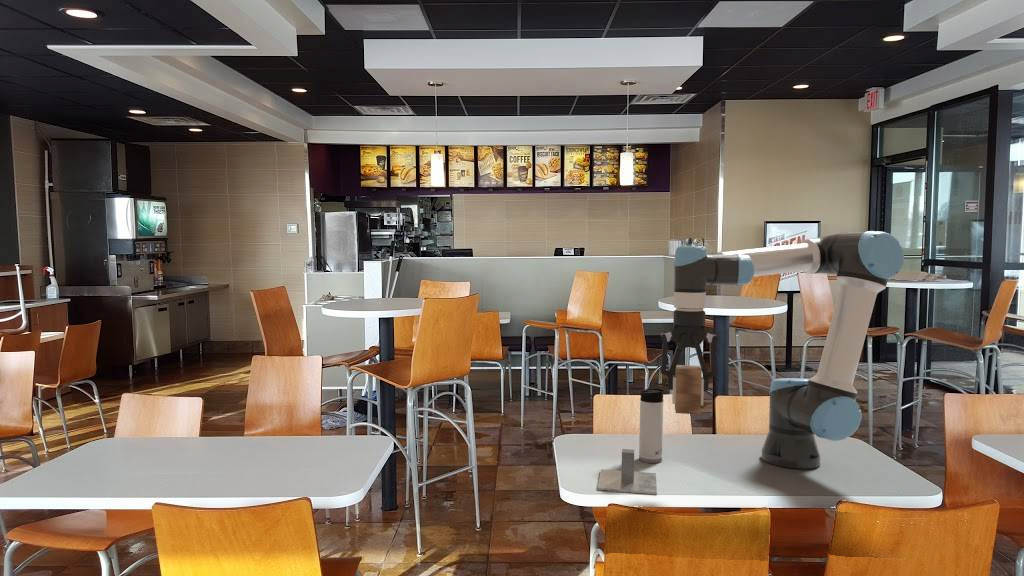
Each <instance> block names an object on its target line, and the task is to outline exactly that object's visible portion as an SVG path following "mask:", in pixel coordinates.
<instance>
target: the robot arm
mask: <svg viewBox="0 0 1024 576" xmlns="http://www.w3.org/2000/svg"><path fill="white" fill-rule="evenodd" d="M673 261H674V263H673V266H674V271H673V272H674V275H673V276H674V280H673V281H674V282H673V283H674V284H673V285H674V289H673V291H674V292H673V308H675V310H673V319H672V320H673V326H672V329H671V330H670V331H669V332H666V333H665V332H661V333H660V338H661V342H662V348H661V361H660V374H662V375H665V376H667V388H668V391H669V390H670V391H671V393H672V395H671V400H672V401H671V402H672V403H671V404H672V405H675V404H676V376H675V375H674V374H675V369H676V366H677V365H678V363H679V361H680V360H679V359H680V356H681V354H682V351H683V349H687V348H691V349H695V352H696V355H697V356H696V357H697V360H698V363H699V366H700V368H701V370H702V376H701V406H704V396H705V395H704V394H705V393H704V392H708V391H709V382H710V378H711V377H717V347H716V346H717V342H718V340H719V336H717V334H712V333H709V332H708V331H707V330H706V311H705V309H706V307H707V306H706V305H707V304H706V303H707V300H706V299H707V290H706V289H707V286H712V285H713V286H740V285H741V286H742V285H747V284H749V283H751V282H752V280H753V278H754V277H763V276H771V275H780V274H781V275H782V274H789V273H790V274H791V273H800V272H803V273H805V274H807V275H813V274H815V275H816V274H828V275H836V277H835V279H836V280H837V282H838V283H839V291H838V293H837V294H838V295H837V298H836V301H835V305H834V306H835V307H834V309H833V313H832V317H831V320H830V323H829V328H828V331H827V336H826V339H825V343H824V347H823V350H822V354H821V357H820V361H819V365H818V369H817V372H816V374H815V375H813V376H812V377H811V378H804V377H803V378H801V377H800V378H799V377H784V378H783V377H782V378H781V377H780V378H775V379H772V380H771V382H770V386H769V392H768V394H769V415H768V416H769V419H768V422H769V423H768V431H767V435H766V437H765V440H764V442H763V445H762V447H761V459H762V461H765V462H766V463H768V464H771V465H774V466H776V467H777V466H778V467H782V468H788V469H797V470H800V469H801V470H806V469H807V470H808V469H816V468H819V467H820V466H821V454H820V450H819V448H818V444H817V440H816V437H817V438H820V439H824V440H829V441H833V442H838V441H842V440H843V441H844V440H846V439H847V438H849V437H851V436H852V435H854V434H855V432H857V430H858V429H859V427H860V425H861V422H862V418H863V417H862V416H863V415H862V409H861V408H860V405H859V403H857V401H856V400H857V396H858V391H857V390H856V388H855V387H854V380H855V377H856V374H857V370H858V366H859V364H860V363H859V362H860V359H861V356H862V351H863V349H864V343H865V340H866V335H867V333H868V329H869V325H870V322H871V318H872V313H873V311H874V310H873V309H874V306H875V302H876V299H877V295H878V294H879V293H881V292H882V291H883V290H885V289H886V288H887V285H888V281H889V279H891V278H894V277H895V276H896V274H899V273H900V272H901V270H902V268H903V265H904V262H905V254H904V249H903V247H902V244H900V242H899V240H898V238H897V237H896V236H894V235H892V233H888V232H885V231H876V230H868V231H852V232H848V231H846V232H837V233H833V234H829V235H825V236H821V237H814V238H807V239H802V241H801V242H800V243H793V244H784V245H775V246H766V247H765V246H764V247H757V248H747V249H739V250H728V251H727V250H726V251H720V252H709V253H708V249H707V247H706V246H704V245H703V246H701V245H699V246H696V245H693V246H692V245H688V246H687V245H685V246H684V245H683V246H678V247H676V249H675V252H674V260H673ZM671 338H673V339H674V341H676V343H677V344H676V348H675V349H674V350H675V351H674V353H673V357H672V359H671V361H670V362H671V363H670V365H669V369H667V365H668V364H667V363H668V360H667V359H668V350H669V349H668V348H669V344H668V342H670V341H671ZM705 339H707V342H708V343H709V362H710V363H709V365H710V367H709V369H710V370H709V371H708V369H707V365H706V362H705V358H704V355H703V351H702V347H701V344H702V343H703V341H705ZM815 436H816V437H815Z"/></svg>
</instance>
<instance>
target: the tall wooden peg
mask: <svg viewBox="0 0 1024 576" xmlns="http://www.w3.org/2000/svg"><path fill="white" fill-rule="evenodd" d="M674 374H675V375H674V376H676V404H674V410H675V411H674V412H675V414H685V415H701V412H702V409H701V407H702V405H701V377H702V376H703V373H702V370H701V367H700V365H689V364H688V365H686V364H685V365H683V364H677V366H676V369H675V372H674Z"/></svg>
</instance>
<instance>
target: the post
mask: <svg viewBox="0 0 1024 576" xmlns="http://www.w3.org/2000/svg"><path fill="white" fill-rule="evenodd" d="M596 490H597V491H602V490H609V491H608V492H615V491H620V492H619V493H628V492H631V493H632V494H644V495H658V490H657V473H655V472H645V471H644V472H643V471H641V472H640V471H635V449H631V448H630V449H628V448H622V449H621V470H616V469H615V470H614V469H604V468H601V469H600V473H599V478H598V484H597V489H596ZM631 493H630V494H631Z"/></svg>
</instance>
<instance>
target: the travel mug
mask: <svg viewBox="0 0 1024 576" xmlns="http://www.w3.org/2000/svg"><path fill="white" fill-rule="evenodd" d="M665 392H666V389H665V388H657V387H655V388H653V387H652V388H646V389H642V390H641V391H640V398H639V399H640V400H639V439H638V440H639V444H638V445H639V446H638V447H639V448H638V459H639V461H640V462H643V463H647V464H660V463H661V462H662V461H663V440H664V439H663V437H664V435H663V434H664V433H663V432H664V393H665Z"/></svg>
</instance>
